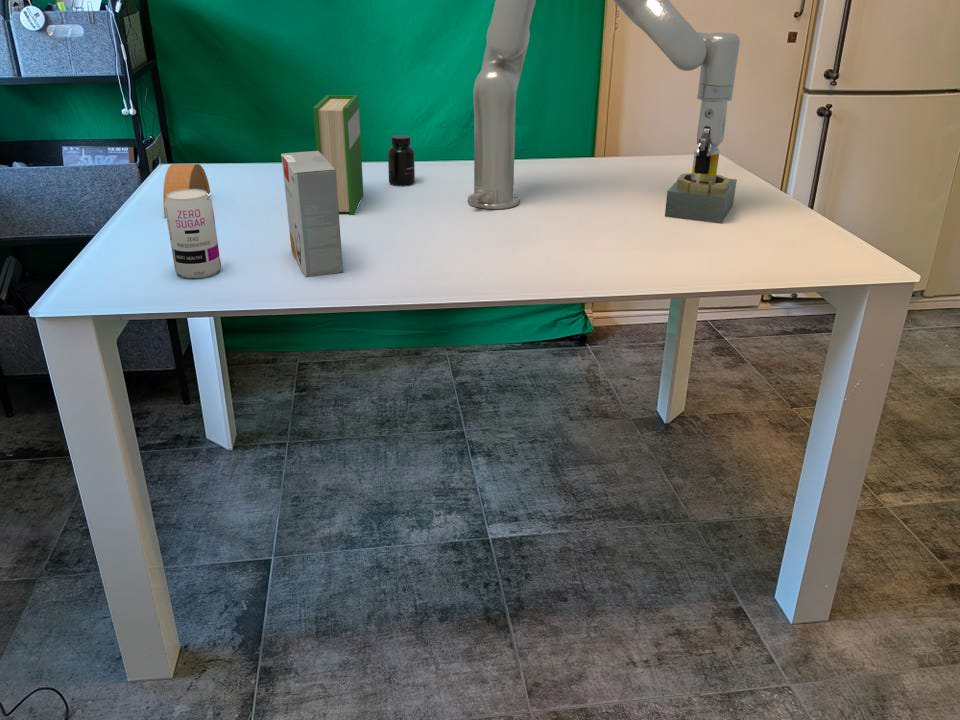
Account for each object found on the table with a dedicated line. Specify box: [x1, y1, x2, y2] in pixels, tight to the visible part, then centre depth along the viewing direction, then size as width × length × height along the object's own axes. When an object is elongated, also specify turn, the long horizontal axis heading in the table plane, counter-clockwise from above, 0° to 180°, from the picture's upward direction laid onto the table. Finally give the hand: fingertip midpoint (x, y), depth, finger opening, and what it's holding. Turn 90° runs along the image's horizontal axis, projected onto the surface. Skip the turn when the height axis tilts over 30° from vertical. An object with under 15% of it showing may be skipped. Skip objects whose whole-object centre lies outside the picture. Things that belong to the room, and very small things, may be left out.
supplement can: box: [163, 189, 222, 280], centre depth 151 cm, size 8×8×15 cm
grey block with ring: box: [664, 172, 738, 225], centre depth 195 cm, size 22×13×8 cm, turn 157°
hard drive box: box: [280, 150, 344, 278], centre depth 156 cm, size 16×8×20 cm, turn 21°
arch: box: [162, 163, 211, 217], centre depth 192 cm, size 6×20×10 cm, turn 3°
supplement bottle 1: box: [387, 134, 416, 187], centre depth 212 cm, size 7×7×12 cm
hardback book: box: [312, 94, 364, 216], centre depth 191 cm, size 18×7×24 cm, turn 0°
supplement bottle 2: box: [691, 145, 720, 184], centre depth 190 cm, size 6×6×10 cm
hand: (704, 168), depth 191 cm, fingers open, 9 cm apart
